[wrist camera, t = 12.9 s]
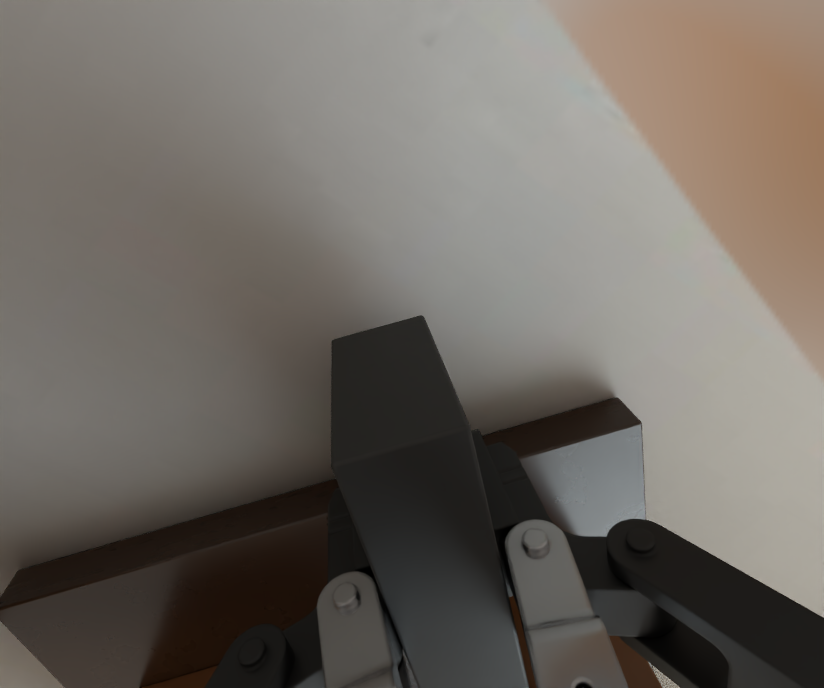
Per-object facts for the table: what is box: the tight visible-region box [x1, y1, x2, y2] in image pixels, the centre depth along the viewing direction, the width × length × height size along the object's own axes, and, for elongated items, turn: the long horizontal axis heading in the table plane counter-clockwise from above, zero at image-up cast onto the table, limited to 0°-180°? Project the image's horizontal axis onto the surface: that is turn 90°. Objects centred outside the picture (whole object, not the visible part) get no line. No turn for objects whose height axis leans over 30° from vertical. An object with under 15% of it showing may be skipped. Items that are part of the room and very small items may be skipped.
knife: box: [331, 316, 529, 688], centre depth 15 cm, size 22×2×5 cm, turn 13°
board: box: [0, 398, 653, 688], centre depth 20 cm, size 20×20×2 cm
